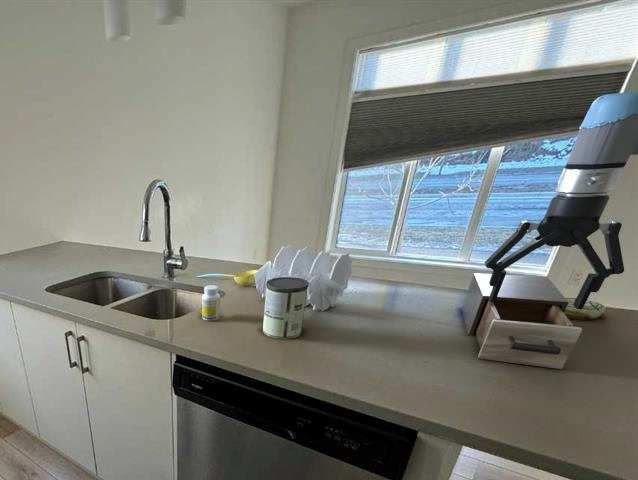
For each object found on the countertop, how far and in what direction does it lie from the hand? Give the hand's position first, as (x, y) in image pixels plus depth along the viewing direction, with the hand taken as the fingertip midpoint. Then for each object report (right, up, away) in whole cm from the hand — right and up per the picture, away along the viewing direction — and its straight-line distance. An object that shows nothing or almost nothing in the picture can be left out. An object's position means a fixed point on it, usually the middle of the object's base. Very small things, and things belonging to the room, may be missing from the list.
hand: (532, 303), depth 85 cm
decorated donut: (+30, +1, +20) cm, 36 cm away
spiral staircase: (-31, +8, +43) cm, 54 cm away
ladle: (-48, +22, +70) cm, 88 cm away
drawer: (+1, -10, +5) cm, 11 cm away
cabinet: (+9, -2, +18) cm, 20 cm away
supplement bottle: (-60, +3, +39) cm, 72 cm away
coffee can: (-44, -3, +26) cm, 51 cm away
